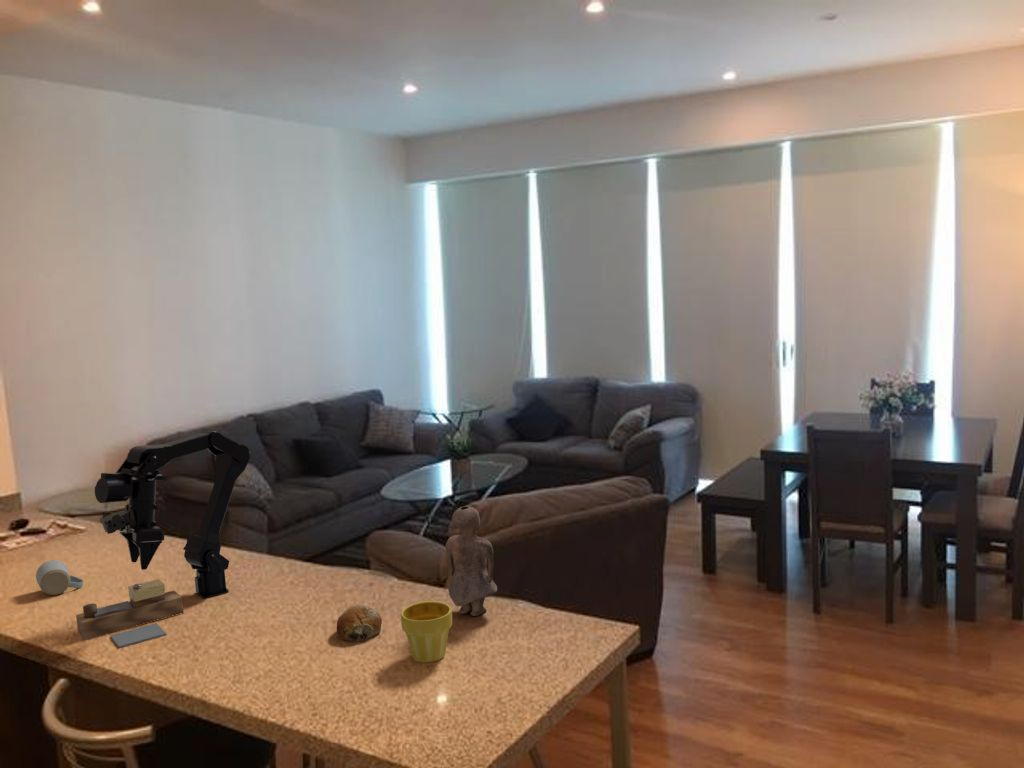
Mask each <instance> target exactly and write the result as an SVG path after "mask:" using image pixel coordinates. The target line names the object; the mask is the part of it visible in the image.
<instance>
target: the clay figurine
mask: <svg viewBox="0 0 1024 768" xmlns="http://www.w3.org/2000/svg"><path fill="white" fill-rule="evenodd" d="M451 521H452V522H451V523H452V524H453V525H454V526H456V527H457V528H458V529H459V531H460V534H457V535H456V534H455V535H452V536H450V537H449V538H448V539H447V541H446V542H445V553H446V556H447V563H448V568H449V573H450V575H451V576H452V578H451V580H450V583H449V586H448V595H449V597H450V599H451V601H452V602H453V604H454V606H455V607H460V609H459V610H458V612H459V613H460V614H462V615H463V614H468V613H469V612H470V611H471V612H470V616H474V617H477V616H480V615H482V614H483V613H486V612H487V608H486V607H485V606H484V603H485V598H487V597H491V596H492V595H495V594H497V592H498V586H497V584H496V583H495V582H494V580H493V576H494V575H493V574H494V557H495V556H494V553H495V552H494V548H493V545H492V543H491V542H490V541H489V540H488V539H487V538H484V537H480V536H478V535H477V533H478V532H479V530H480V526H481V519H480V514H479V512H478V510H477V509H476V508H474V507H472V506H468V505H465V506H461V507H459V508H457V509H456V510H455V511H454V512H453V514H452V516H451Z"/></svg>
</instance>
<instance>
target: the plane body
mask: <svg viewBox="0 0 1024 768" xmlns="http://www.w3.org/2000/svg"><path fill="white" fill-rule="evenodd" d="M82 609H83V610H82V613H78V614H76V615H75V617H76V624H77V625H76V626H77V632H78V633H80V634H79V635H80V637H81V638H82V639H83V640H89V639H93V638H97V637H100V636H103V635H102V634H104V635H107V634H106V633H108V634H111V633H114V631H115V632H118V631H117V630H119V631H122V629H123V630H125V628H126V629H129V627H130V628H133V627H132V626H134V627H137V626H136V625H138V626H141V625H144V624H143V623H145V624H148V623H147V622H149V623H151V622H150V621H152V622H155V621H154V620H156V621H158V620H157V619H160V620H163V619H162V618H164V619H166V618H165V617H167V618H169V617H168V616H171V617H173V616H172V615H175V616H177V615H176V614H179V615H181V614H180V613H182V614H184V606H183V597H182V596H181V595H180V594H179V593H178V592H177V591H175V590H170V591H165V594H163V595H159V596H155V597H152V598H148V599H144V600H140V601H136V602H134V601H133V600H132V599H131V598H130V597H129V601H128V600H126V601H122V602H119V603H114V604H109V605H106V606H102V607H98V606H97V603H88V604H86V605H85V604H84V605H83V606H82ZM140 624H141V625H140ZM110 632H111V633H110ZM99 635H100V636H99ZM96 636H97V637H96Z"/></svg>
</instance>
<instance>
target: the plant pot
mask: <svg viewBox="0 0 1024 768" xmlns="http://www.w3.org/2000/svg"><path fill="white" fill-rule="evenodd" d="M400 621H401V629H402V631H403V632H404V633H405V634H406V637H407V642H408V645H409V648H410V651H411V654H412V655H411V656H412V659H414V661H417V662H419V663H425V664H427V663H434V662H437V661H439V660H441V659H443V658H444V657H445V655H446V652H447V646H448V645H447V644H448V638H449V632H450V629H451V627H452V625H453V609H452V607H451V606H450V604H447V602H443V601H436V600H435V601H434V600H431V601H430V600H429V601H420V602H415V603H413V604H410V605H407V606H406V607H404V608H403V609H402V610H401V613H400Z"/></svg>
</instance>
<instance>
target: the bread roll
mask: <svg viewBox="0 0 1024 768" xmlns="http://www.w3.org/2000/svg"><path fill="white" fill-rule="evenodd" d="M382 622H383V619H382V617H381V614H379V612H378V610H376V609H375V608H373V607H372V606H369V605H366V604H353V605H350V606H349V607H347V608H346V610H344V611H343V612H342V613H341V614H339V616H338V618H337V620H336V634H337V636H338V638H339V639H340V640H343V641H346V642H361V641H365V640H369V639H371V638H373V637H375V636H377V635H378V634H380V632H381V630H382V629H381V628H382V624H383V623H382Z"/></svg>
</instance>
